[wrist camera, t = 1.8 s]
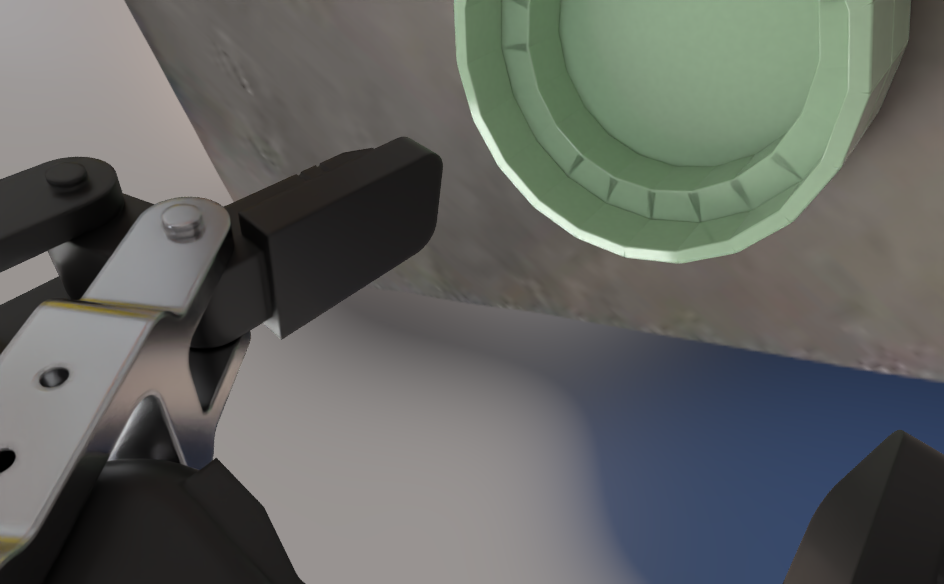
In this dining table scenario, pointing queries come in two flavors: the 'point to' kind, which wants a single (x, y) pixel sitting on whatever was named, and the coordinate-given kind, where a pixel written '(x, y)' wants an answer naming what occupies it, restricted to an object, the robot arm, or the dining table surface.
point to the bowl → (675, 110)
